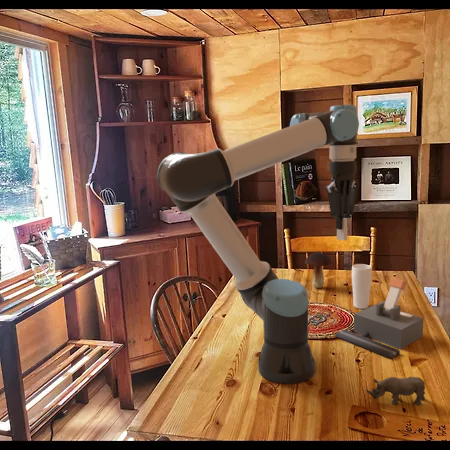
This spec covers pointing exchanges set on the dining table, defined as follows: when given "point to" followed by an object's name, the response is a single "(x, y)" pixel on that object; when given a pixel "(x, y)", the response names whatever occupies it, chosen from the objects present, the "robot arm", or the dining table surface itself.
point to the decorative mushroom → (318, 267)
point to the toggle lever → (393, 294)
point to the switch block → (389, 325)
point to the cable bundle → (368, 343)
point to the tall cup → (361, 285)
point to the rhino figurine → (400, 388)
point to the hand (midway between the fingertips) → (341, 239)
